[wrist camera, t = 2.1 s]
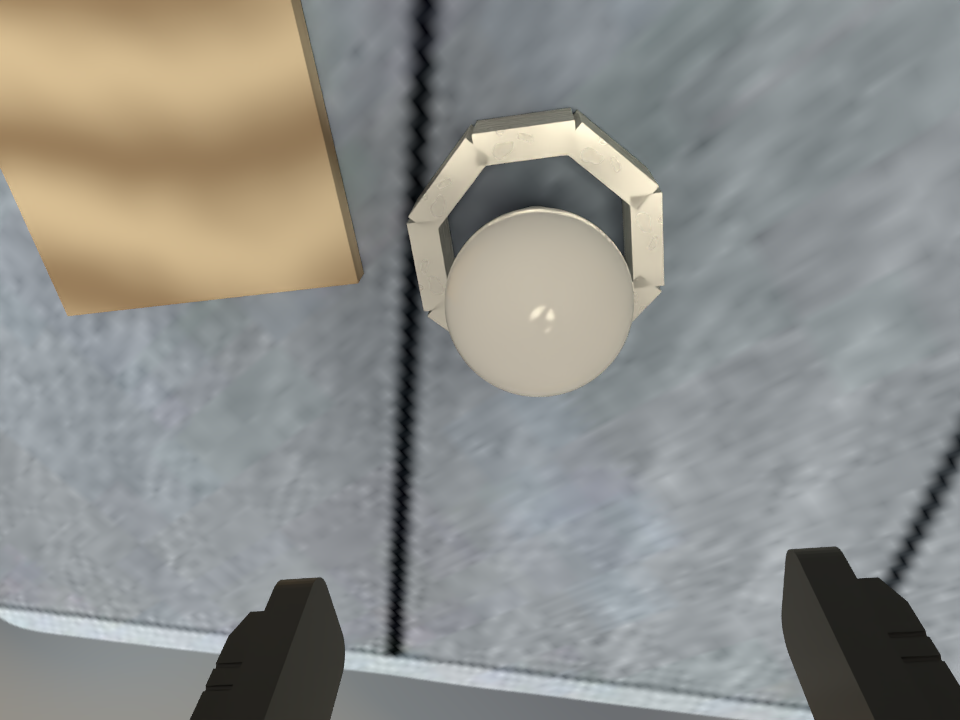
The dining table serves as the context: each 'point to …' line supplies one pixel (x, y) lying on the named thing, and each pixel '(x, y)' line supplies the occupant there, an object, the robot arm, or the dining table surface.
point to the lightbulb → (539, 302)
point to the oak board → (171, 150)
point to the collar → (528, 142)
